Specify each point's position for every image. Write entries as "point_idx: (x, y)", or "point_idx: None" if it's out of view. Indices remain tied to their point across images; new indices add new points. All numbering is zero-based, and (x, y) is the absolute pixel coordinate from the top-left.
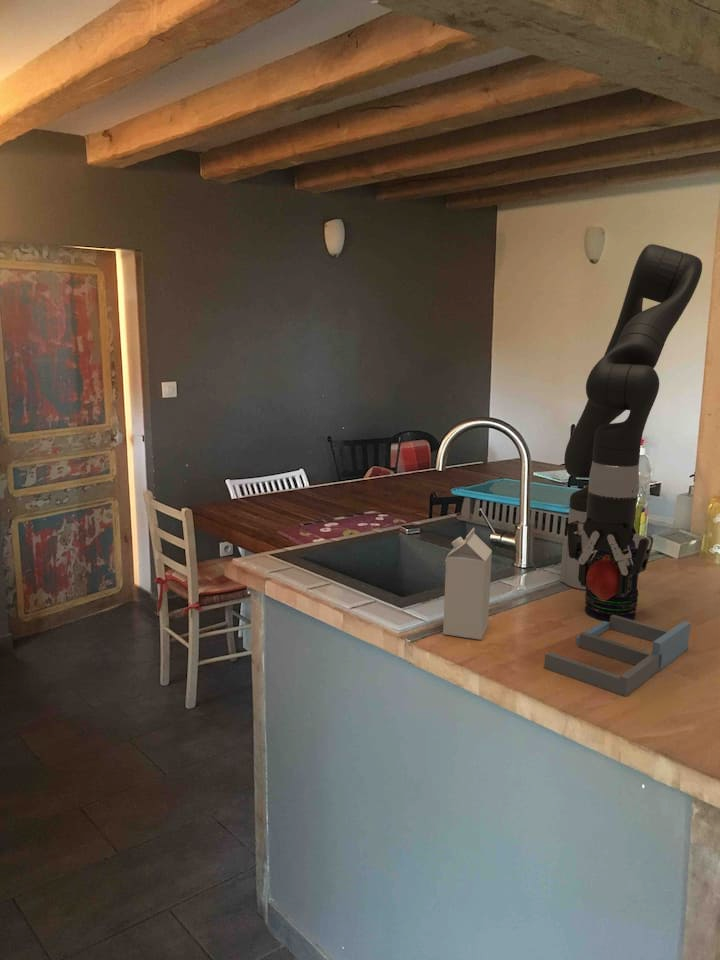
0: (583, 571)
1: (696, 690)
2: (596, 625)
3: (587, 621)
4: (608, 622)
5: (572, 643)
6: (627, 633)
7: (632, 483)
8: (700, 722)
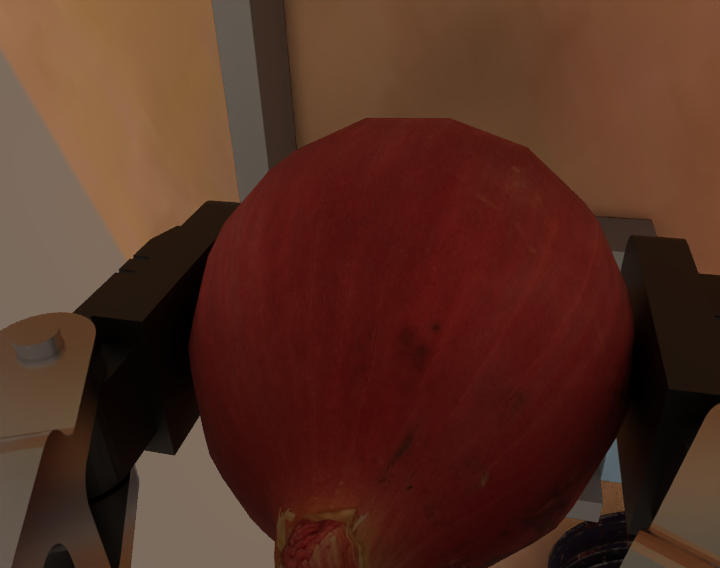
0: (689, 332)
1: (103, 140)
2: None
3: None
4: (606, 479)
5: (695, 241)
6: None
7: None
8: None
